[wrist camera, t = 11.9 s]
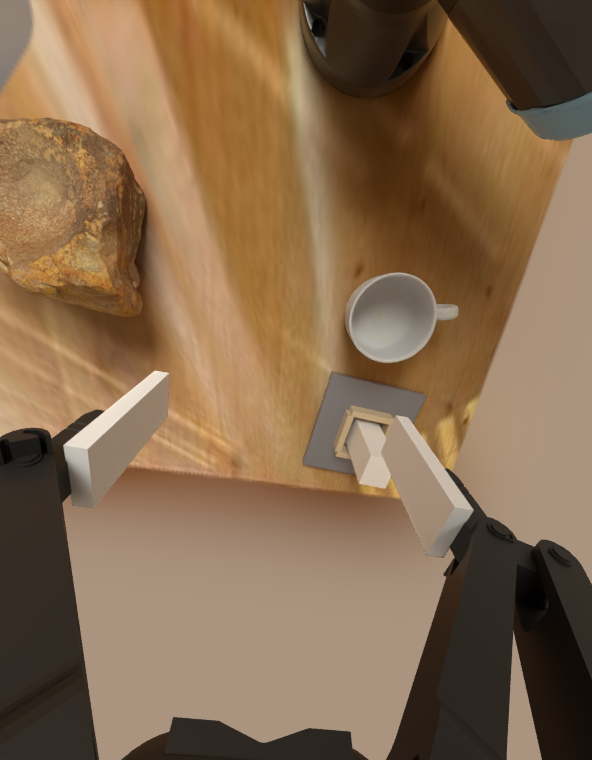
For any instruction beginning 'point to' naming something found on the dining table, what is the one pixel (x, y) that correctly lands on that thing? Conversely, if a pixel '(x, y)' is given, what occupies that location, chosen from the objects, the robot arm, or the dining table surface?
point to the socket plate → (342, 407)
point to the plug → (368, 453)
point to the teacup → (393, 316)
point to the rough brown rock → (69, 215)
